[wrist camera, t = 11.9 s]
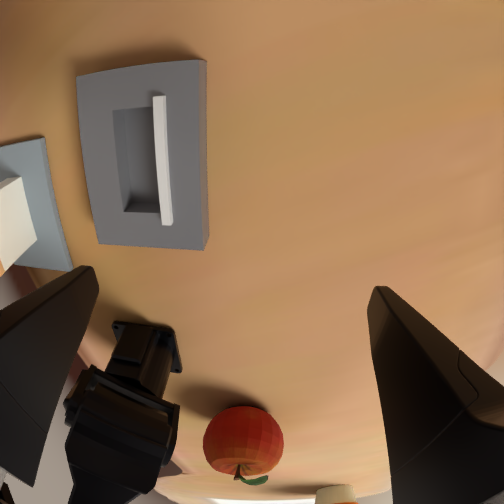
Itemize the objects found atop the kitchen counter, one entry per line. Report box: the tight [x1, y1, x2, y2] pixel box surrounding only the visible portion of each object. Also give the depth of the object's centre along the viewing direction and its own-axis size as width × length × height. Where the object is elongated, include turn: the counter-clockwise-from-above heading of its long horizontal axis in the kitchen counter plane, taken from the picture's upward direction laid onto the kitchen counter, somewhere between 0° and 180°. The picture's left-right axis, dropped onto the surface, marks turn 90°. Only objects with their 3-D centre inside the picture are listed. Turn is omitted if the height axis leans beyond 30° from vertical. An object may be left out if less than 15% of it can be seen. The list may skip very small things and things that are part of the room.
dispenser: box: [76, 60, 209, 251], centre depth 18 cm, size 12×8×2 cm, turn 178°
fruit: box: [203, 406, 284, 485], centre depth 31 cm, size 10×10×10 cm
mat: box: [0, 137, 73, 272], centre depth 22 cm, size 12×8×1 cm, turn 178°
